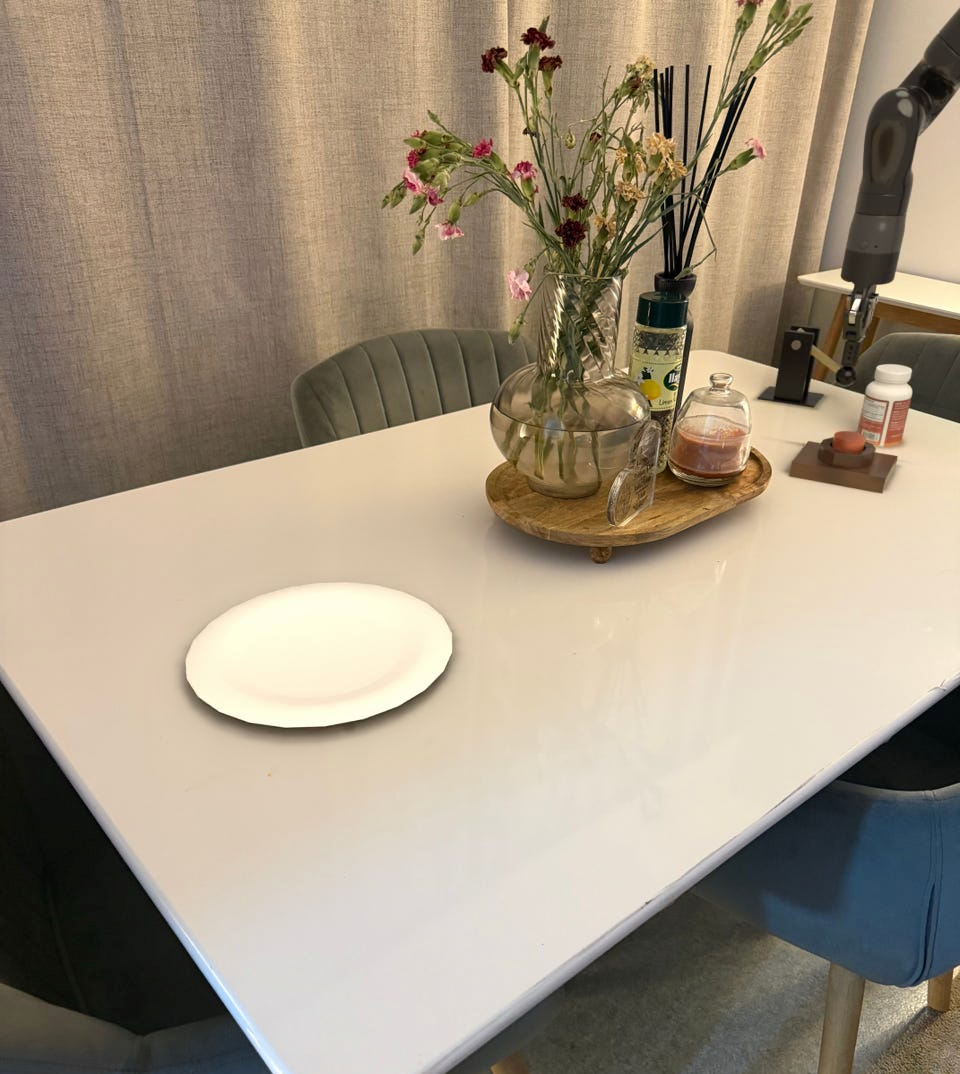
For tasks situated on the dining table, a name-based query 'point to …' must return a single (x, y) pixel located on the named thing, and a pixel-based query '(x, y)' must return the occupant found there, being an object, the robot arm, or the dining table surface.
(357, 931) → the dining table surface
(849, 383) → the switch lever
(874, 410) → the pill bottle
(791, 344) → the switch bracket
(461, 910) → the dining table surface
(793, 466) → the switch box
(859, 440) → the button
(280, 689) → the plate
